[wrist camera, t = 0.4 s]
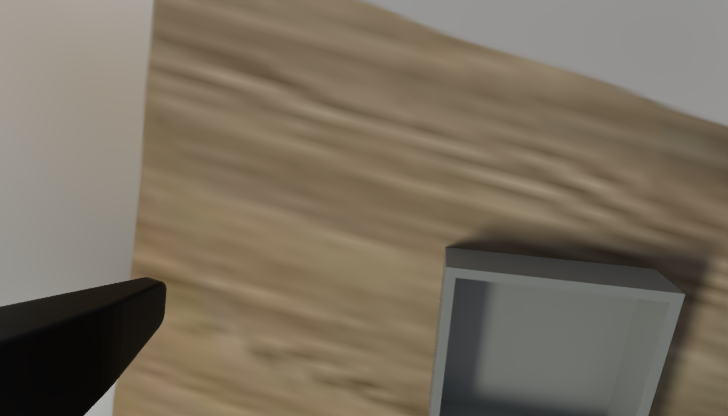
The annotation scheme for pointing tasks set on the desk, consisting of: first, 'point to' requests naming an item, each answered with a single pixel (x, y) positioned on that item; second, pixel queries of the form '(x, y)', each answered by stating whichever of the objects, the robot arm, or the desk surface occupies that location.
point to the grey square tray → (549, 336)
